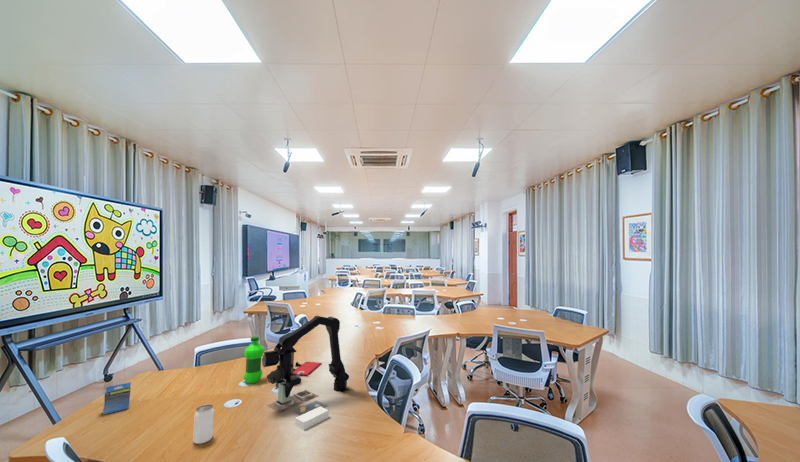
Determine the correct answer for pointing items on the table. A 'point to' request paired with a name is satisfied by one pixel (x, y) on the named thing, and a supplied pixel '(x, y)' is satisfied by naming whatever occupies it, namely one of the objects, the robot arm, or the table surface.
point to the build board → (293, 401)
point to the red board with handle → (305, 368)
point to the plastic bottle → (253, 361)
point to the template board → (308, 408)
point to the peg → (282, 393)
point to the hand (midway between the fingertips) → (284, 396)
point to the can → (203, 424)
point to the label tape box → (116, 398)
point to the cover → (311, 418)
